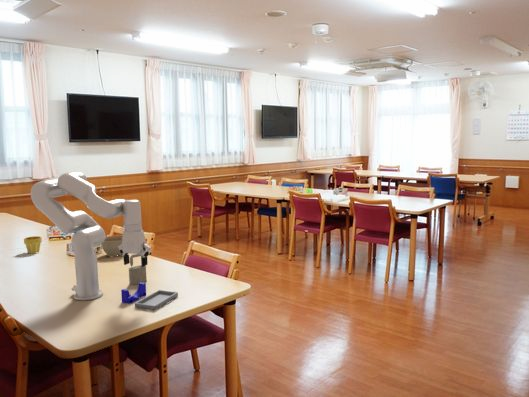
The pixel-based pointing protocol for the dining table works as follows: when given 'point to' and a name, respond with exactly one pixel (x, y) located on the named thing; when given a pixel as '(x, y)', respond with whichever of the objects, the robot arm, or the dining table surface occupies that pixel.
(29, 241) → the plant pot
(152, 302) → the grey rectangular tray
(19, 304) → the dining table surface
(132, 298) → the cable clip
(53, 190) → the robot arm
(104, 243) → the planter bowl
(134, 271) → the padlock
